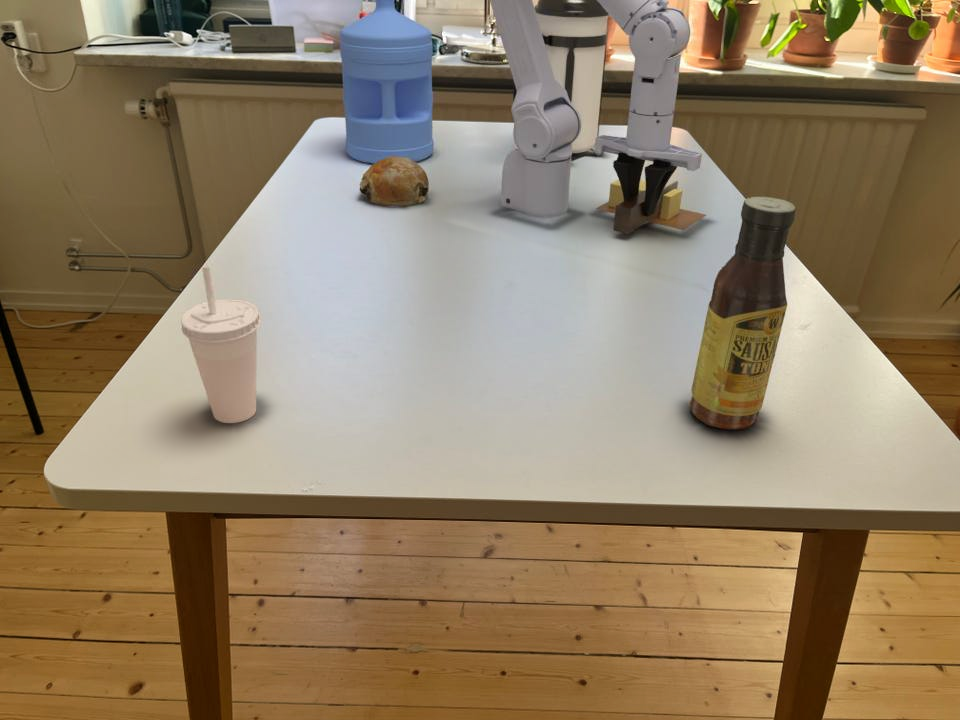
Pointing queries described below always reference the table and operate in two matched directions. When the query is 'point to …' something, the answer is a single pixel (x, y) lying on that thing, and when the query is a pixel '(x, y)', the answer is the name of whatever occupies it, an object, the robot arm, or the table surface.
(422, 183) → the bread roll
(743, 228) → the sauce bottle
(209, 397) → the smoothie
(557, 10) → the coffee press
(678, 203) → the butter slice
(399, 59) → the water jug
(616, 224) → the knife
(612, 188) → the butter block
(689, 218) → the cutting board
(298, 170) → the table surface
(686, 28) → the robot arm
